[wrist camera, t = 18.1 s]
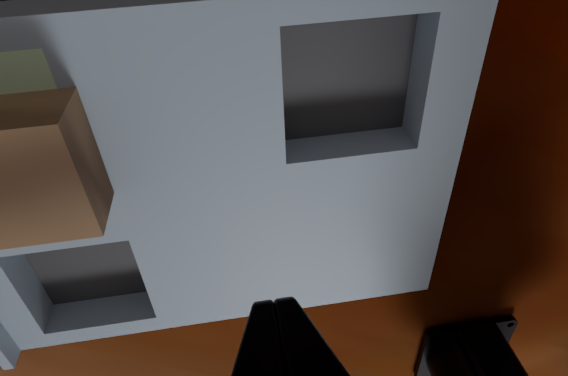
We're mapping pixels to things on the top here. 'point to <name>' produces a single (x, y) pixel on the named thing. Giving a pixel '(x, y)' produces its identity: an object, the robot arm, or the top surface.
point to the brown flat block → (50, 170)
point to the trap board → (242, 154)
